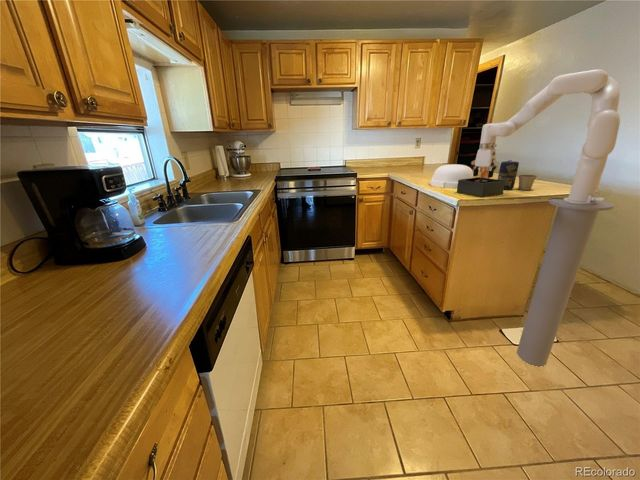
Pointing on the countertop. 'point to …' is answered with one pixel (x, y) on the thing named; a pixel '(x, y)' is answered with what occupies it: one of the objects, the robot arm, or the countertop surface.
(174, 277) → the countertop surface
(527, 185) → the flower pot
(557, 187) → the countertop surface
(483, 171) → the candy box
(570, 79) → the robot arm
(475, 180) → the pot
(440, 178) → the dome cover
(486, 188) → the dark gray open box
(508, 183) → the canister
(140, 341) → the countertop surface
